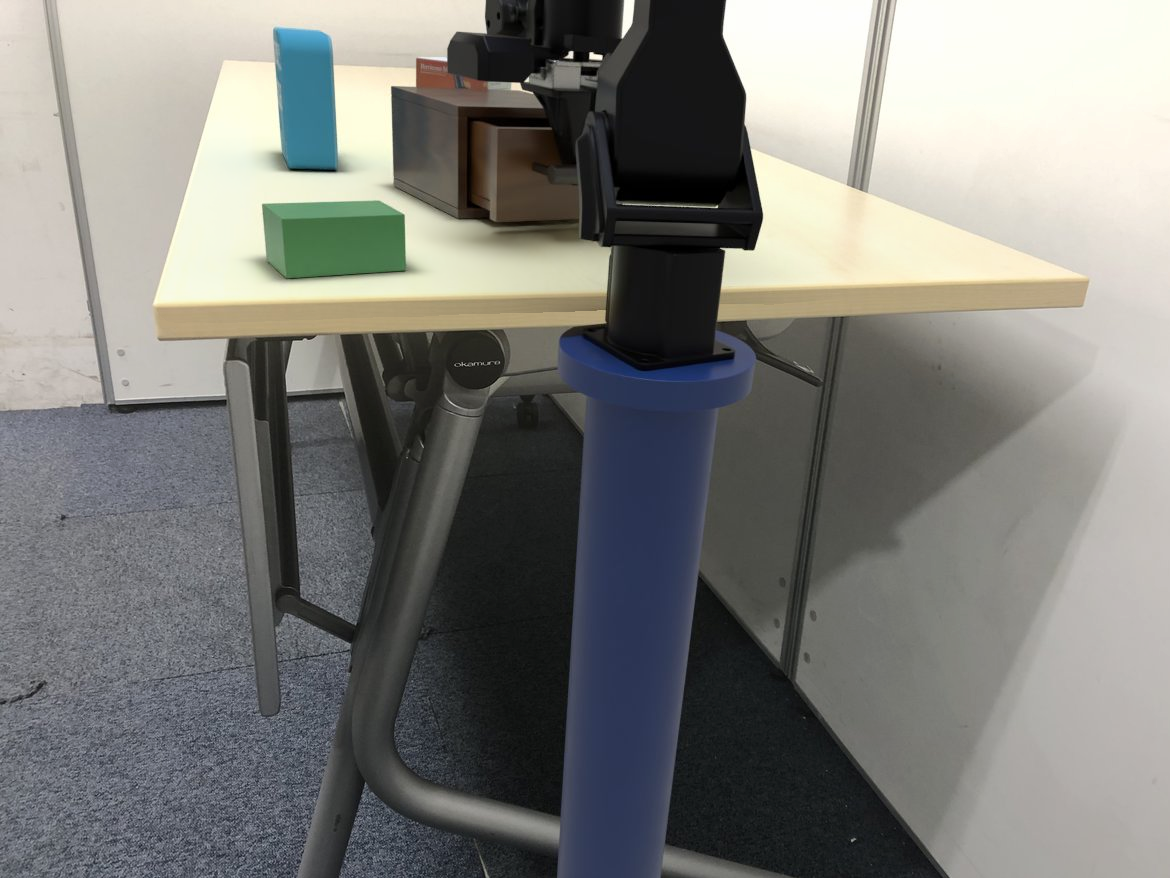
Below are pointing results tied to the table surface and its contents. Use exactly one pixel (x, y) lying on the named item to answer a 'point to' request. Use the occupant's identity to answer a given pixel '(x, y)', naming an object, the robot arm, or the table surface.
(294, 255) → the green block
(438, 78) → the small box
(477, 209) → the cabinet
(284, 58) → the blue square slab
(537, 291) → the table surface
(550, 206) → the drawer
